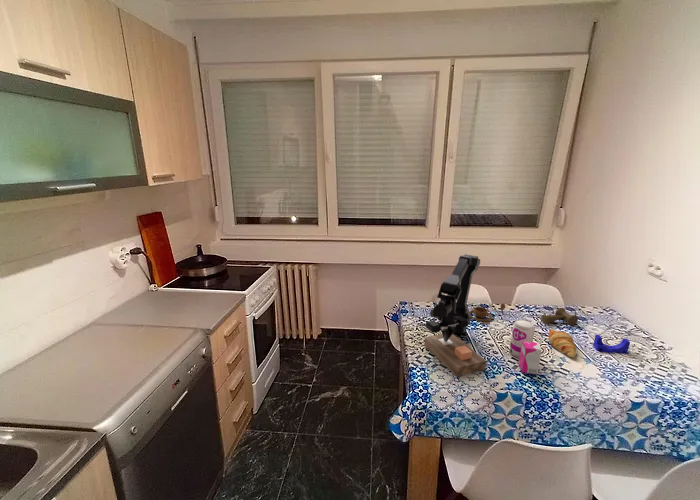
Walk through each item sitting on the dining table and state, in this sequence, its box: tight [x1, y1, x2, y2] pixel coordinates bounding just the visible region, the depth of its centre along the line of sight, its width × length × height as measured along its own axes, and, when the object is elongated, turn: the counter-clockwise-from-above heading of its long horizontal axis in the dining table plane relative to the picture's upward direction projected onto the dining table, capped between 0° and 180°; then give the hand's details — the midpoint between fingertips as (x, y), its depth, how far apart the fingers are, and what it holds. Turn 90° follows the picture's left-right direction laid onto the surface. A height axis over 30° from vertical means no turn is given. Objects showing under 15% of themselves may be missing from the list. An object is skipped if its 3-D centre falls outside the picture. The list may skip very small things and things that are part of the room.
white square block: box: [438, 338, 453, 345], centre depth 148 cm, size 5×5×4 cm
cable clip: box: [592, 334, 631, 355], centre depth 148 cm, size 12×4×6 cm, turn 72°
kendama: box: [540, 307, 579, 326], centre depth 175 cm, size 6×10×20 cm
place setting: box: [468, 303, 506, 325], centre depth 179 cm, size 18×20×6 cm
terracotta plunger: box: [454, 346, 472, 361], centre depth 137 cm, size 5×5×4 cm
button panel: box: [423, 333, 487, 377], centre depth 143 cm, size 14×24×4 cm, turn 20°
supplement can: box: [509, 319, 536, 359], centre depth 144 cm, size 8×8×15 cm
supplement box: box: [518, 341, 542, 376], centre depth 133 cm, size 6×6×12 cm
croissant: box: [547, 329, 577, 358], centre depth 152 cm, size 21×10×8 cm, turn 174°
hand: (445, 341), depth 148 cm, fingers closed, pressing on white square block
